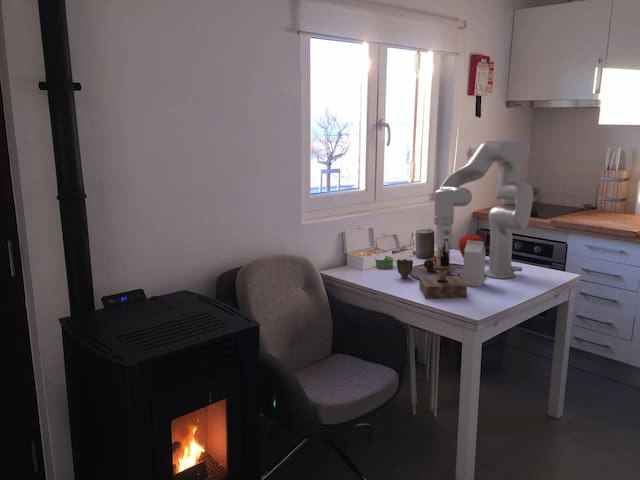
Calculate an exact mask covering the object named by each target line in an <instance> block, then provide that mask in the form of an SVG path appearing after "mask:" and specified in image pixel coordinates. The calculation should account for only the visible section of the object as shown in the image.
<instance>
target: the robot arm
mask: <svg viewBox="0 0 640 480" xmlns="http://www.w3.org/2000/svg"><path fill="white" fill-rule="evenodd" d="M530 154H531V146H530V145H529V143H528V142H527V141H524V140H487V141H483V142H482V143H481V144H480V145H479V147H478V148H477V150H476V151H475V152H474V154H473V155H472V156H471V158H470V159H469V160H468V162H467V163H466V164H465V165H464V166H462V167H460V168H459V169H458V170H456V171H454V172H453V173H451V174H450V175H448V176H447V177H446V179H445V180H444V181H443V183H442V184H441V185H440V186H439V189H437V190H436V191H434V216H433V218H434V219H433V221H434V222H433V223H434V225H435V226H436V229H435V230H436V231H435V244H436V247H437V246H438V247H439V248H440V249H441V266H449V267H450V262H449V248H450V250H452V249H453V248H454V247H453V225H454V218H455V217H454V210H455V209H454V208H455V207H466V206H468V205H469V204H470V203H471V202H472V200H473V194H472V191H471V190H470V189H468V188H465V187H461V186H463V185H465V184H468V183H471V182H475V181H478V180H480V179H482V178H483V177H485V176H486V174H487V173H488V171H489V169H490V168H491V167H492V165H493V164H494V163H496V164H497V168H498V175H497V181H496V182H497V183H496V188H495V199H496V200H497V201H498V202H500V203H503V204H510V205H511V204H512V205H515V207H514V206H513V207H512V206H507V205H495V206H494V207H492V208H490V210H489V211H488V212H489V213H488V223H489V235H490V236H489V253H488V254H489V255H488V256H489V259H488V269H487V270H485V276H487V277H489V278H492V279H503V280H505V279H511V278H514V277H515V272H522V271H523V268H522V266H515V265H514V266H513V265H512V259H513V257H512V255H513V254H512V253H513V233H512V231H511V230H515V231H524V230H525V229H526V228H527V227H528V225H529V222H530V220H531V219H530V218H531V212H532V206H533V199H534V190H533V187H532V185H530V184H529V183H527V182H519V178H520V167H519V165H518V164H517V163H518V162H519V163H520V162H524V161H526V160H527V159H529V156H530ZM444 247H445V249H443V248H444ZM443 251H444V253H443Z"/></svg>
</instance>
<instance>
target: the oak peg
mask: <svg viewBox="0 0 640 480" xmlns="http://www.w3.org/2000/svg"><path fill="white" fill-rule="evenodd" d="M443 249H445V247H444V248H443ZM450 251H451V249H450V248H449V263H450ZM443 253H444V251H443ZM436 255H437V257H436V264H435V266H436V267H435V268H436V270H438V276H439V279H440V280H445V279H446V277H447V276H448V270H450V265H449V266H441V249H440V248H439V247H438V246H437V245H436Z"/></svg>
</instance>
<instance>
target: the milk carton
mask: <svg viewBox="0 0 640 480" xmlns="http://www.w3.org/2000/svg"><path fill="white" fill-rule="evenodd" d="M485 271H486V247H485V242H484V241H483V242H480V241H470V240H467V244H466V247H465V250H464V258H463V277H462V278H463V279H462V281H463V282H464V283H465V284H466V285H467V286H471V287H477V288H478V287H479V288H480V287H482V285H483V284H484V283H485V277H486V275H485Z"/></svg>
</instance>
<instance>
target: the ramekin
mask: <svg viewBox="0 0 640 480" xmlns="http://www.w3.org/2000/svg"><path fill="white" fill-rule="evenodd" d="M384 256H385V259H384V260H377V259H375V258H374V259H375V266H377V267H376V268H378V269H382V270H384V269H386V270H387V269H392V268H393V265H394V264H393V263H394V257H392V256H389V255H384Z"/></svg>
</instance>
